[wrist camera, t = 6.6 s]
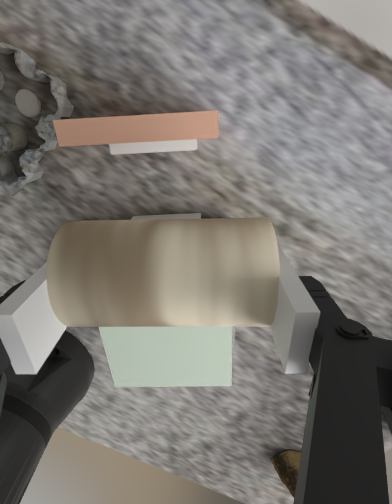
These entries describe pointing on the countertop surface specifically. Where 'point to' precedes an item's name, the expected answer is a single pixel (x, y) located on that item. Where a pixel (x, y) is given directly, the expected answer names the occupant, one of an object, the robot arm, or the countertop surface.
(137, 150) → the roller cradle
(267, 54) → the countertop surface
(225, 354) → the slab
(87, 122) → the board
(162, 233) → the roller
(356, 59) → the countertop surface
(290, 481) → the rock
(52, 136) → the egg carton
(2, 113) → the countertop surface
